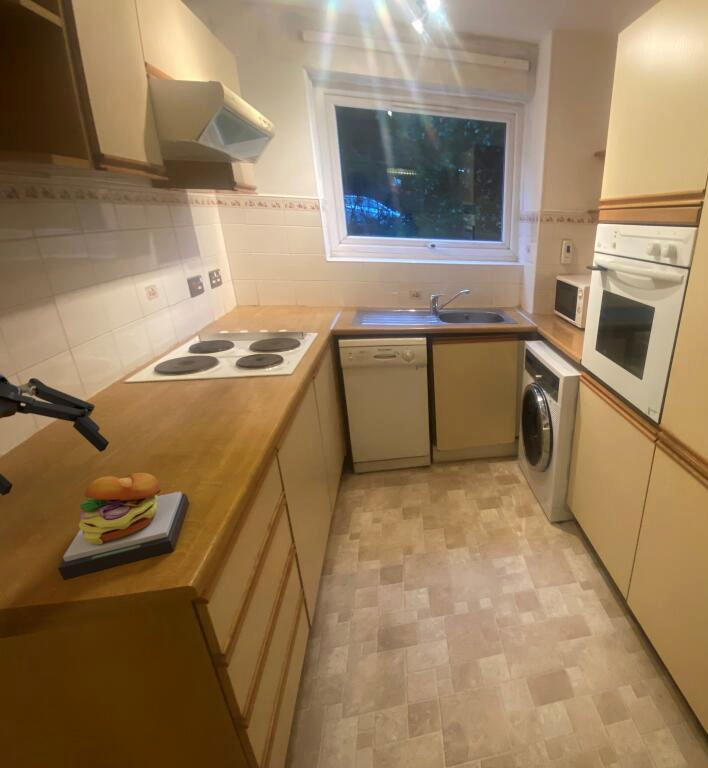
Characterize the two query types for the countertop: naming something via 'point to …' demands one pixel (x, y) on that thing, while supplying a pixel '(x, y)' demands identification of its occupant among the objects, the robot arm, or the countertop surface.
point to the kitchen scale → (129, 541)
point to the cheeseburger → (118, 506)
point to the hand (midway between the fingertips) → (60, 467)
